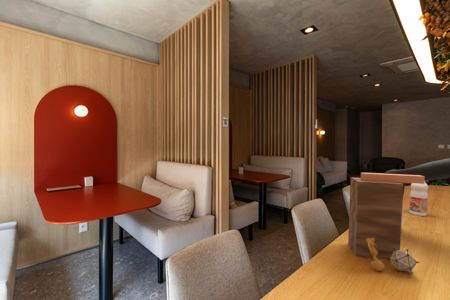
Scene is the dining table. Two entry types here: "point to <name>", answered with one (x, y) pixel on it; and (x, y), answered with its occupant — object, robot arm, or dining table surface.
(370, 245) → the figurine
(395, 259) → the game die
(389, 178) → the terracotta bar
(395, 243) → the walnut pedestal
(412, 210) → the fruit juice
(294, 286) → the dining table surface
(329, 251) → the dining table surface
